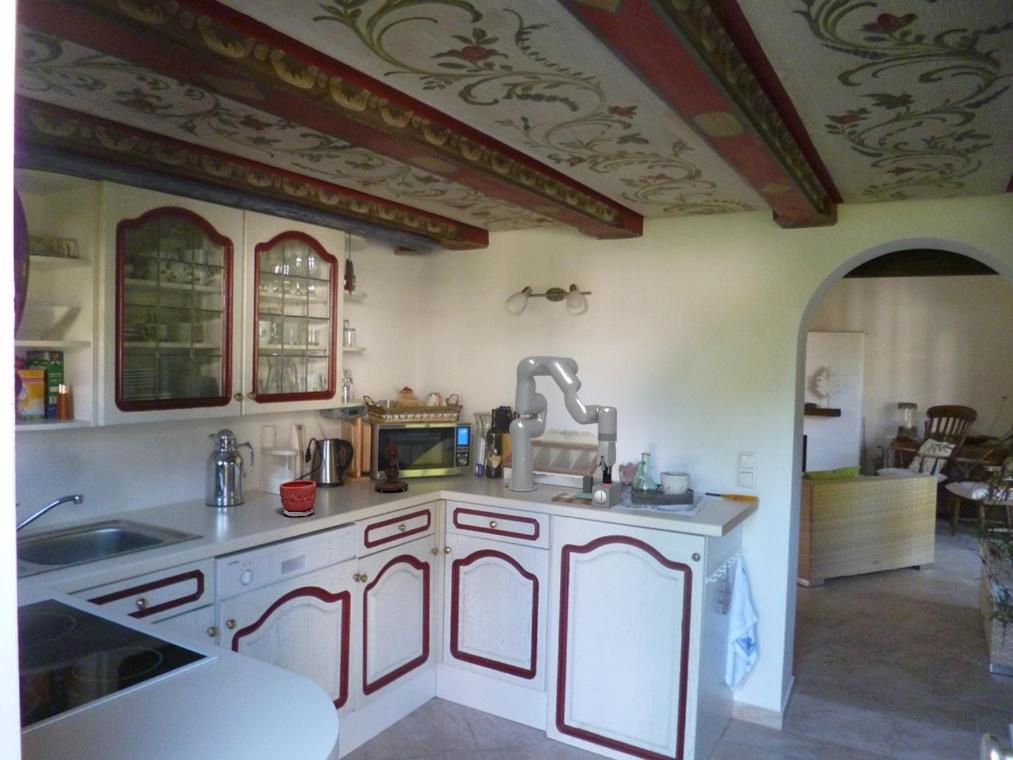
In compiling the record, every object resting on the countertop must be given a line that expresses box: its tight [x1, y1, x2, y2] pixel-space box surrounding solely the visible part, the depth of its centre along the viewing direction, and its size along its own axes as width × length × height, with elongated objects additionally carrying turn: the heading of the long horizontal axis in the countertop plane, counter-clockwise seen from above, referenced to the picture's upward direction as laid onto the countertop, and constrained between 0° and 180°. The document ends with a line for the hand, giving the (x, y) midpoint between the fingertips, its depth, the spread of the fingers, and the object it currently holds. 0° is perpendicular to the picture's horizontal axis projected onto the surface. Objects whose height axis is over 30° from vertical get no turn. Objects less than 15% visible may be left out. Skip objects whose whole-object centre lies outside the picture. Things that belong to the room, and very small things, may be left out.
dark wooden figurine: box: [374, 443, 409, 491], centre depth 315 cm, size 15×15×20 cm
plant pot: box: [279, 479, 317, 513], centre depth 268 cm, size 13×13×12 cm
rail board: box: [551, 491, 592, 506], centre depth 293 cm, size 18×9×2 cm, turn 62°
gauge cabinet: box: [591, 481, 622, 509], centre depth 287 cm, size 7×15×8 cm, turn 152°
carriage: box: [575, 475, 594, 499], centre depth 291 cm, size 7×8×8 cm
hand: (607, 483), depth 287 cm, fingers closed
